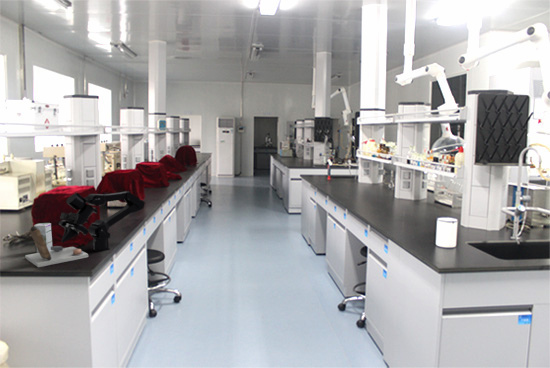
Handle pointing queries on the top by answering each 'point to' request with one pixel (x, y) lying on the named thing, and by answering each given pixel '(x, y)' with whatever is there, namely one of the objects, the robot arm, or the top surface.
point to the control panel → (55, 257)
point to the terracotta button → (76, 251)
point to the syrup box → (45, 234)
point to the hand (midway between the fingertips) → (62, 242)
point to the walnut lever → (40, 243)
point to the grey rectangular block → (56, 248)
